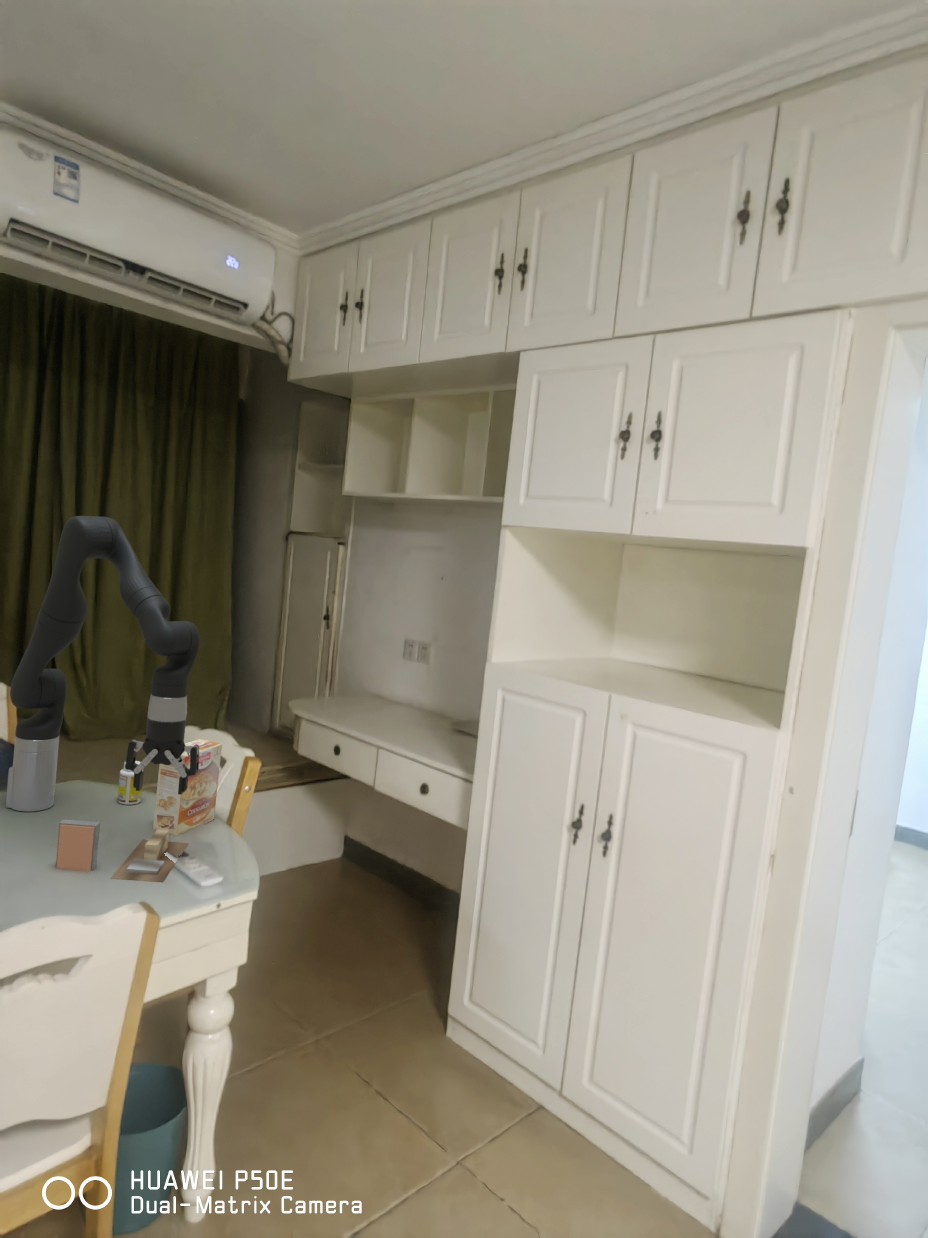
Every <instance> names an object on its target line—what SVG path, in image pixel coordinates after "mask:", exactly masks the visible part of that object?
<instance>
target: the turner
mask: <svg viewBox="0 0 928 1238" xmlns="http://www.w3.org/2000/svg"><path fill="white" fill-rule="evenodd" d="M169 836H170V834H169V829H157V830H155V832H154V833H153V834H152V836H150V838H149V839H148V840H149V841H148V842H147V843H146V844H145V852H144V859H134V860H133V862H132V863H131V864H130V865H129V867H128V868H127V870H126V873H137V874H151V875H157V874H158V873H159V872H160V870H161V869H162V867H163V866H164V863H165V861H158V860H159V858H160V857H161V856H162V854H163V853H164V852H165V850H166V849H167V848H168V842H169V839H170V837H169Z"/></svg>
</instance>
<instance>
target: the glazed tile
mask: <svg viewBox="0 0 928 1238" xmlns="http://www.w3.org/2000/svg"><path fill="white" fill-rule="evenodd" d="M58 825H59V826H58V834H57V837H58V838H57V846H56V848H57V850H56V859H55V868H56V869H58V870H71V871H85V872H86V871H87V872H91V871H94V870H95V868H96V867H97V862H98V852H99V851H98V850H99V839H100V827H101V822H99V821H88V820H75V819H66V818H65V819H62V820H61V821H60V822H59V823H58Z"/></svg>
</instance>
